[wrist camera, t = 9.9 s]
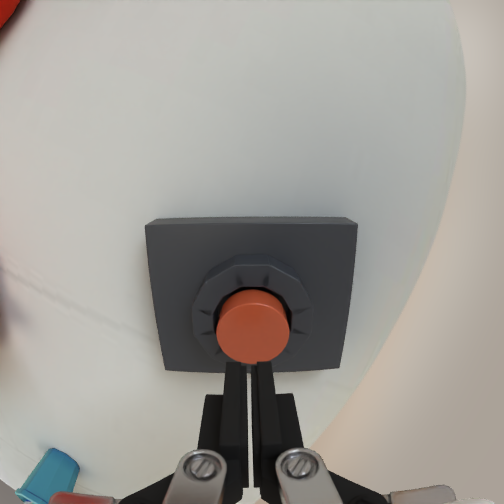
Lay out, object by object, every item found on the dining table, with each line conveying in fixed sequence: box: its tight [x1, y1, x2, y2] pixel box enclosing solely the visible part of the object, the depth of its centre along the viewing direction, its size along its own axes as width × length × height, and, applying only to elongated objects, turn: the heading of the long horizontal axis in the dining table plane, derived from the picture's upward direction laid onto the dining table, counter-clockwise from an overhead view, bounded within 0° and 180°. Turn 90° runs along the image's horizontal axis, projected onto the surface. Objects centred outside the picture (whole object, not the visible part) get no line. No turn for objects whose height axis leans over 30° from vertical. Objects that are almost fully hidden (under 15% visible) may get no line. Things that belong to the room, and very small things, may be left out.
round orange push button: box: [216, 289, 289, 364], centre depth 15 cm, size 4×4×2 cm
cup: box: [15, 448, 80, 504], centre depth 19 cm, size 14×8×15 cm, turn 101°
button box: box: [145, 217, 358, 373], centre depth 17 cm, size 12×10×4 cm
